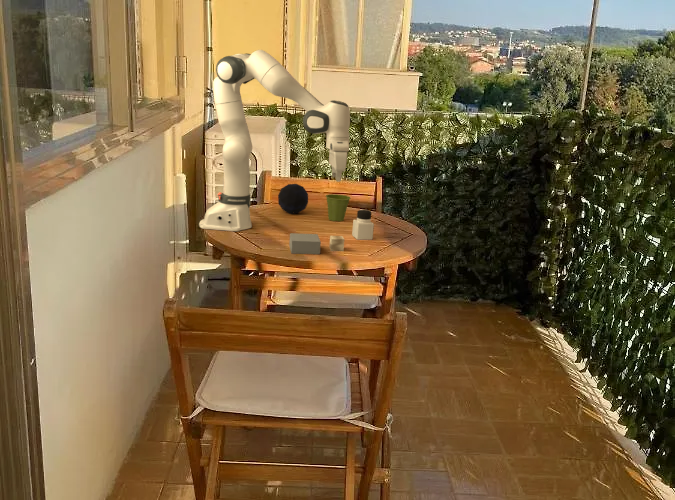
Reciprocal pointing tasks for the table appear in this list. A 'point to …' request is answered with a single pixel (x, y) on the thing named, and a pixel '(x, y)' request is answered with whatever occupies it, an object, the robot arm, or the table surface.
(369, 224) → the medicine bottle
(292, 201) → the decorative orb
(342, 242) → the ash cube
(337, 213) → the plant pot
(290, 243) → the grey block
